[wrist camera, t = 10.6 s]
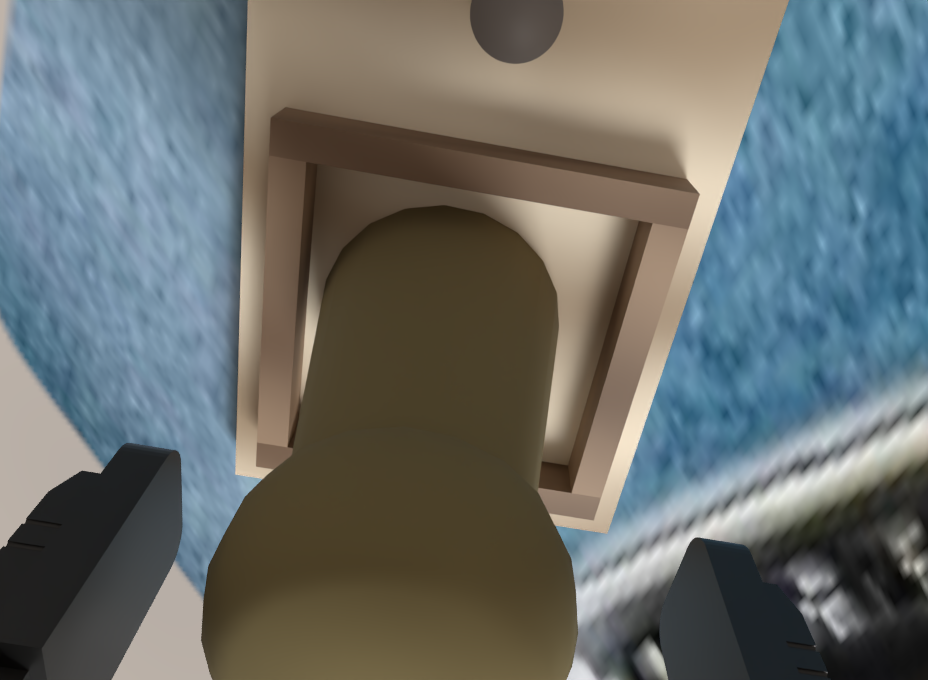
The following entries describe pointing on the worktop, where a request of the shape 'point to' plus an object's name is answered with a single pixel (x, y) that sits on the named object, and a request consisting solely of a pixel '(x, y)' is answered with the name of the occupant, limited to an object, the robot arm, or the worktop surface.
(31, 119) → the worktop surface
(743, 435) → the worktop surface
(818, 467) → the worktop surface
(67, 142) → the worktop surface
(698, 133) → the socket plate
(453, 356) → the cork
